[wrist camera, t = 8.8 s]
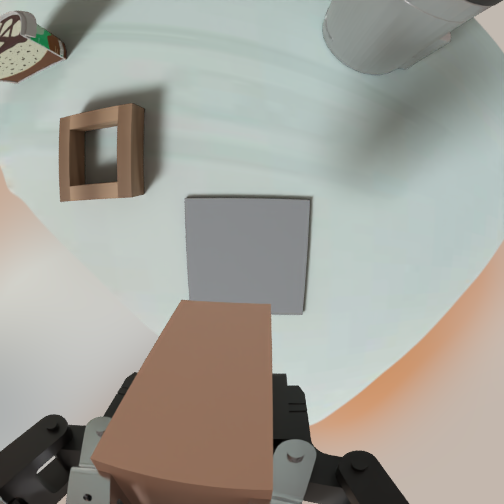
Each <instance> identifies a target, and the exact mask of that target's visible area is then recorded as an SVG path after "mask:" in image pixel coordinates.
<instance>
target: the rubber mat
mask: <svg viewBox="0 0 504 504" xmlns="http://www.w3.org/2000/svg"><path fill="white" fill-rule="evenodd" d="M309 210H310V200H303V199H271V198H185V229H186V252H187V270H188V286H189V300H190V301H208V302H229V303H255V304H271V314H274V315H302V314H303V303H304V291H305V278H306V264H307V248H308V231H309Z"/></svg>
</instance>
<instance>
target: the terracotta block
mask: <svg viewBox="0 0 504 504" xmlns="http://www.w3.org/2000/svg"><path fill="white" fill-rule="evenodd" d="M90 459H91V461H92V462H93V464H94V466H95V467H96V469H97V470H100V471H103V472H107V473H110V474H111V475H112V476H113V478H114V479H115V481H116V482H117V484H118V485H119V487H120V488H121V490H122V491H123V492H124V494H125V495H126V497H127V498H128V499H129V501H130V502H131V504H248V502H249V500H250V498H255V499H269V500H271V498H272V492H273V395H272V336H271V304H255V303H229V302H208V301H190V300H181V302H180V303H179V305H178V307H177V308H176V310H175V312H174V313H173V315H172V316H171V318H170V320H169V321H168V323H167V325H166V326H165V328H164V330H163V331H162V333H161V335H160V336H159V338H158V340H157V341H156V343H155V345H154V346H153V348H152V350H151V351H150V353H149V355H148V356H147V358H146V360H145V361H144V363H143V365H142V367H141V368H140V370H139V372H138V373H137V375H136V377H135V379H134V380H133V382H132V384H131V385H130V387H129V389H128V391H127V392H126V394H125V396H124V398H123V399H122V401H121V403H120V405H119V406H118V408H117V410H116V412H115V414H114V415H113V417H112V419H111V421H110V423H109V424H108V426H107V428H106V430H105V432H104V433H103V435H102V437H101V439H100V441H99V443H98V444H97V446H96V448H95V450H94V452H93V454H92V456H91V457H90Z"/></svg>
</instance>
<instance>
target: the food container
mask: <svg viewBox="0 0 504 504" xmlns="http://www.w3.org/2000/svg"><path fill="white" fill-rule="evenodd" d="M66 55H67V52H66V48H65V44H64V43H63V42H62V41H61V40H60V39H58V38H57V37H56V36H54V35H53V34H51V33H50V32H48V31H47V30H45V29H44V28H42V27H41V26H39V25H38V24H37V23H36V19H35V17H34V15H32V14H31V13H29V12H24V11H12V12H8V13H5V14H3V15H2V16H0V81H3V82H10V83H17V84H18V83H20V82H22V81H24V80H25V79H27V78H29V77H31V76H33V75H35V74H37V73H39V72H41V71H43V70H45V69H47V68H49V67H51V66H53V65H55V64H57V63H59V62H61V61H64V60H66Z"/></svg>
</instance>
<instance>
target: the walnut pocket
mask: <svg viewBox="0 0 504 504" xmlns="http://www.w3.org/2000/svg"><path fill="white" fill-rule="evenodd" d="M114 126H118V127H117V182H104V183H93V184H85V131H91V130H96V129H102V128H108V127H114ZM143 140H144V108H142V107H140V106H138V105H135V104H133V103H130V104H124V105H118V106H113V107H108V108H102V109H98V110H93V111H88V112H84V113H80V114H76V115H72V116H68V117H64V118H60V130H59V186H60V202H64V201H77V200H91V199H108V198H127V197H135V196H139V195H143V194H144V175H143Z"/></svg>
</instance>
